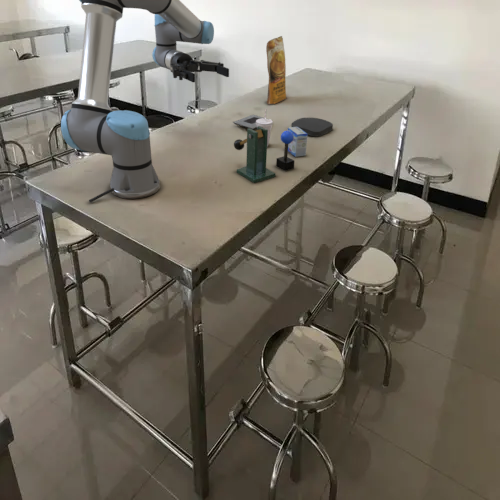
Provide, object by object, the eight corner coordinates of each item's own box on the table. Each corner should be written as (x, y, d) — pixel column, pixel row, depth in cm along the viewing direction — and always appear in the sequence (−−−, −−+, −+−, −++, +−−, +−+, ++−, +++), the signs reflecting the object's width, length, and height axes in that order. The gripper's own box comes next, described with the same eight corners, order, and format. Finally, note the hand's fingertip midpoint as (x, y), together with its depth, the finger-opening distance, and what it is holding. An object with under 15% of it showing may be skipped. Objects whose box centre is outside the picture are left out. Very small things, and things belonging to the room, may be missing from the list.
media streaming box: (317, 138, 193) (318, 131, 192) (287, 130, 201) (287, 123, 199) (335, 129, 203) (336, 122, 202) (306, 121, 210) (306, 114, 209)
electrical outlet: (252, 119, 211) (253, 113, 210) (272, 124, 206) (272, 119, 204) (233, 126, 202) (233, 121, 201) (252, 133, 197) (252, 127, 196)
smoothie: (275, 145, 186) (277, 109, 178) (263, 150, 182) (265, 113, 174) (262, 141, 190) (264, 105, 182) (251, 145, 186) (252, 109, 178)
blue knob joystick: (284, 171, 167) (287, 134, 159) (275, 166, 170) (277, 130, 163) (294, 168, 169) (297, 131, 162) (285, 163, 172) (287, 127, 165)
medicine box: (285, 149, 183) (287, 127, 178) (296, 148, 185) (297, 126, 180) (295, 157, 177) (297, 134, 172) (306, 155, 179) (308, 133, 174)
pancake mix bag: (259, 103, 230) (261, 40, 214) (278, 94, 243) (282, 34, 228) (271, 106, 227) (274, 42, 211) (290, 96, 240) (294, 36, 225)
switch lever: (233, 152, 167) (230, 142, 167) (242, 150, 169) (239, 140, 169) (256, 140, 154) (253, 129, 154) (265, 137, 156) (262, 126, 156)
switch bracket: (236, 172, 165) (237, 127, 156) (257, 166, 170) (259, 122, 161) (254, 183, 159) (255, 136, 150) (275, 176, 163) (278, 131, 154)
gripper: (208, 69, 186) (241, 81, 172) (149, 77, 173) (179, 92, 159) (208, 48, 182) (241, 59, 168) (147, 55, 169) (178, 68, 155)
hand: (211, 75), depth 163 cm, fingers open, 13 cm apart
